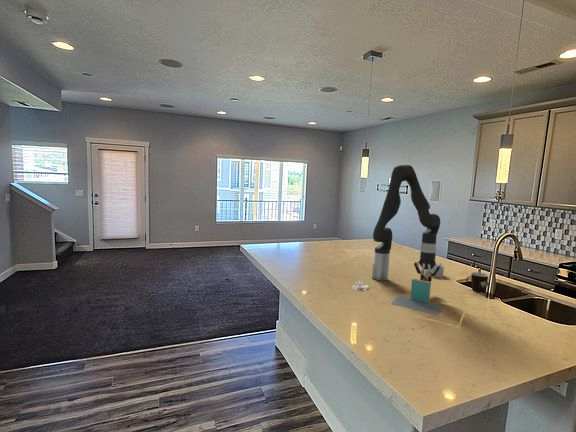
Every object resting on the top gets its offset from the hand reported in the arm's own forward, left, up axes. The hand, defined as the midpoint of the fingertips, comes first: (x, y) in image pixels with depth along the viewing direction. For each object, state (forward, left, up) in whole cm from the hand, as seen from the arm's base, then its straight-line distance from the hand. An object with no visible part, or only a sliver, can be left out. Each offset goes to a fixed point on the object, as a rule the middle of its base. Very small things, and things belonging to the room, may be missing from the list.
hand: (425, 282), depth 173 cm
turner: (0, -1, -2) cm, 2 cm away
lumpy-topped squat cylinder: (-5, +52, -9) cm, 52 cm away
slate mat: (0, -16, -8) cm, 18 cm away
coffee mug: (+22, +32, -9) cm, 39 cm away
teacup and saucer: (-31, -11, -9) cm, 34 cm away
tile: (0, -10, -8) cm, 13 cm away
